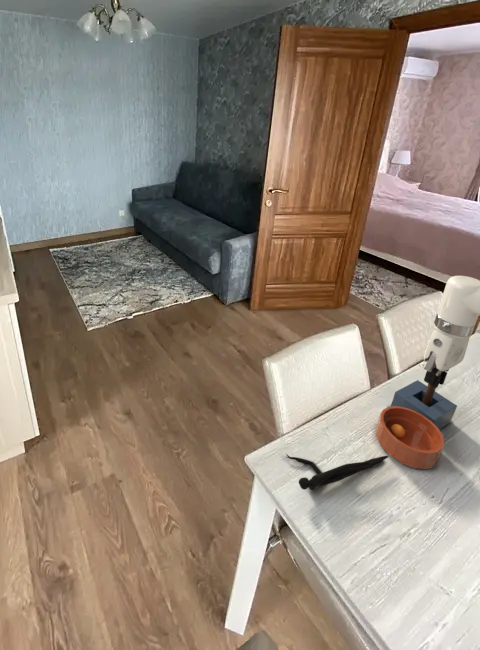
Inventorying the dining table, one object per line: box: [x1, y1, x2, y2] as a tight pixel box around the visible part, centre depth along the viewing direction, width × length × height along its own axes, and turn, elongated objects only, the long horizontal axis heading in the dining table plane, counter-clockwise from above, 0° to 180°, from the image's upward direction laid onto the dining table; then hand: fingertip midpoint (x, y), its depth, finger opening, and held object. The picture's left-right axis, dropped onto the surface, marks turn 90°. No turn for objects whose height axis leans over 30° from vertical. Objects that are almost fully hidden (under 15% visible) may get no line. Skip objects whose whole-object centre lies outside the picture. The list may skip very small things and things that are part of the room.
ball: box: [390, 424, 405, 438], centre depth 89 cm, size 3×3×3 cm
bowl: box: [375, 405, 445, 470], centre depth 87 cm, size 13×13×6 cm
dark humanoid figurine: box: [285, 453, 389, 491], centre depth 82 cm, size 8×9×25 cm
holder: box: [390, 379, 458, 430], centre depth 95 cm, size 10×10×6 cm
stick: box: [422, 366, 442, 406], centre depth 92 cm, size 2×2×13 cm
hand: (433, 382), depth 92 cm, fingers closed on stick, 1 cm apart
